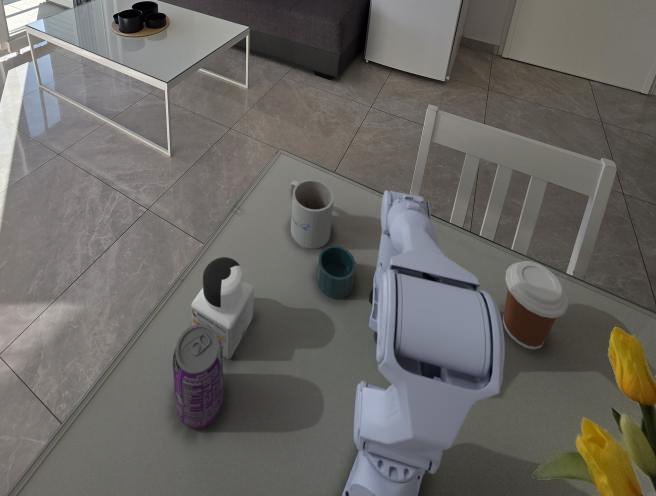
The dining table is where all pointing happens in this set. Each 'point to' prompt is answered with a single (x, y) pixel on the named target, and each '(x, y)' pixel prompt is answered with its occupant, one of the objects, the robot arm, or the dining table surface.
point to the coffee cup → (532, 303)
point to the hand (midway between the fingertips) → (387, 323)
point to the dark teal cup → (336, 272)
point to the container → (224, 303)
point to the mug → (311, 213)
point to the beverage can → (198, 376)
